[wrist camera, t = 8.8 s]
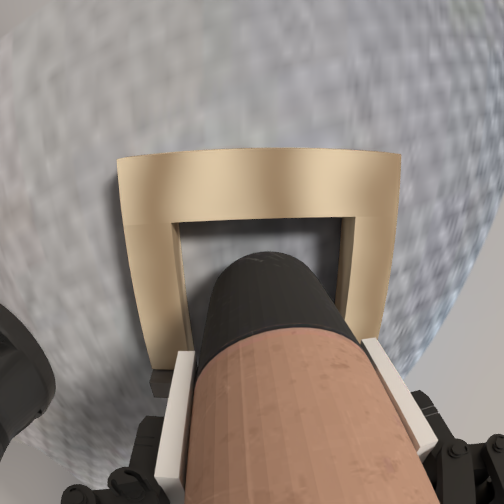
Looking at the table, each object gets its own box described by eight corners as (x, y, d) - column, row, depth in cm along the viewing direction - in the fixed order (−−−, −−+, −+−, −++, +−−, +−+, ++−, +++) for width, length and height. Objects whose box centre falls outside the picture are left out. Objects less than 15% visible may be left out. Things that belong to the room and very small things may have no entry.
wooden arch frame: (162, 365, 24) (154, 397, 21) (130, 156, 19) (108, 160, 15) (359, 354, 25) (375, 382, 22) (383, 152, 19) (411, 155, 16)
